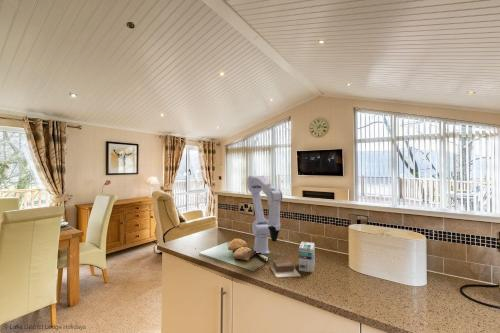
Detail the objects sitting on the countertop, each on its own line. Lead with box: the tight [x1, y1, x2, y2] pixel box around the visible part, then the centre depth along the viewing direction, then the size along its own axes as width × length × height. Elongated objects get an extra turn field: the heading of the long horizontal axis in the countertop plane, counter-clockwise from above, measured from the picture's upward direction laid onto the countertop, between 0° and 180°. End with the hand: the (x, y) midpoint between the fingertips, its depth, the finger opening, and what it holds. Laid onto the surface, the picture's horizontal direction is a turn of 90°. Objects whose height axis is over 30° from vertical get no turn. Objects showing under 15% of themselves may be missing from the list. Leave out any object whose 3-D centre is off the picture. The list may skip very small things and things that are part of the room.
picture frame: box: [272, 259, 295, 272], centre depth 113 cm, size 3×8×7 cm
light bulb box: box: [298, 241, 316, 274], centre depth 115 cm, size 11×7×11 cm, turn 161°
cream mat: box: [270, 266, 301, 278], centre depth 110 cm, size 10×11×1 cm
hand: (274, 241), depth 122 cm, fingers closed
